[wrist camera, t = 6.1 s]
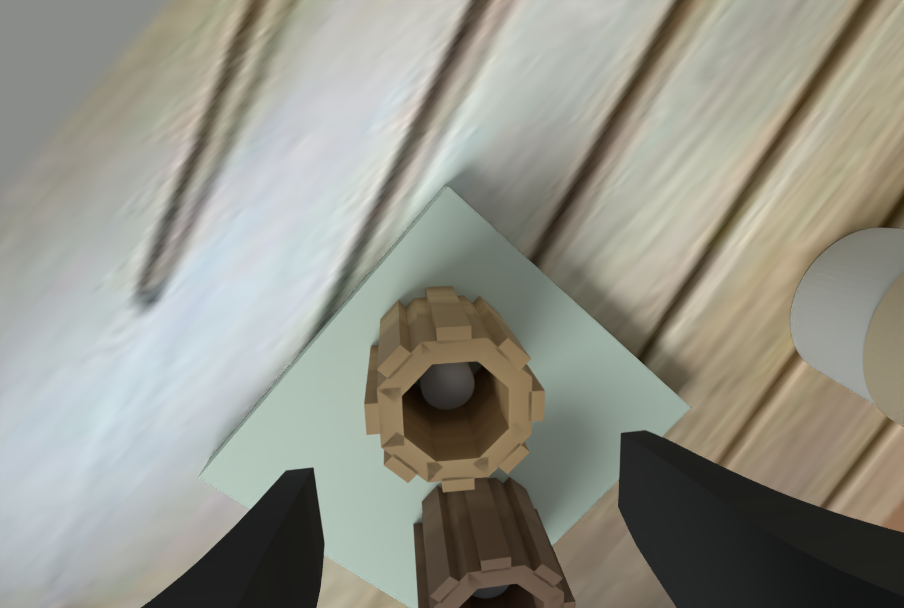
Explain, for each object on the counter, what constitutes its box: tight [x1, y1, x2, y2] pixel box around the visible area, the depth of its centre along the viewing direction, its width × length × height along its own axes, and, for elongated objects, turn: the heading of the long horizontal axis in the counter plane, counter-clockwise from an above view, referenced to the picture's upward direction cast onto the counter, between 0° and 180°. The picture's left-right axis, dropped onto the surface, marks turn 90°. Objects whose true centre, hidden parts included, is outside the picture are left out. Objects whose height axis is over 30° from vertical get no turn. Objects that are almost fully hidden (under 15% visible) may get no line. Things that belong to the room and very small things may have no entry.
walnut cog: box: [413, 477, 575, 608], centre depth 20 cm, size 5×5×5 cm
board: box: [198, 185, 691, 608], centre depth 20 cm, size 14×15×4 cm
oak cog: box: [364, 286, 545, 492], centre depth 18 cm, size 5×5×5 cm
